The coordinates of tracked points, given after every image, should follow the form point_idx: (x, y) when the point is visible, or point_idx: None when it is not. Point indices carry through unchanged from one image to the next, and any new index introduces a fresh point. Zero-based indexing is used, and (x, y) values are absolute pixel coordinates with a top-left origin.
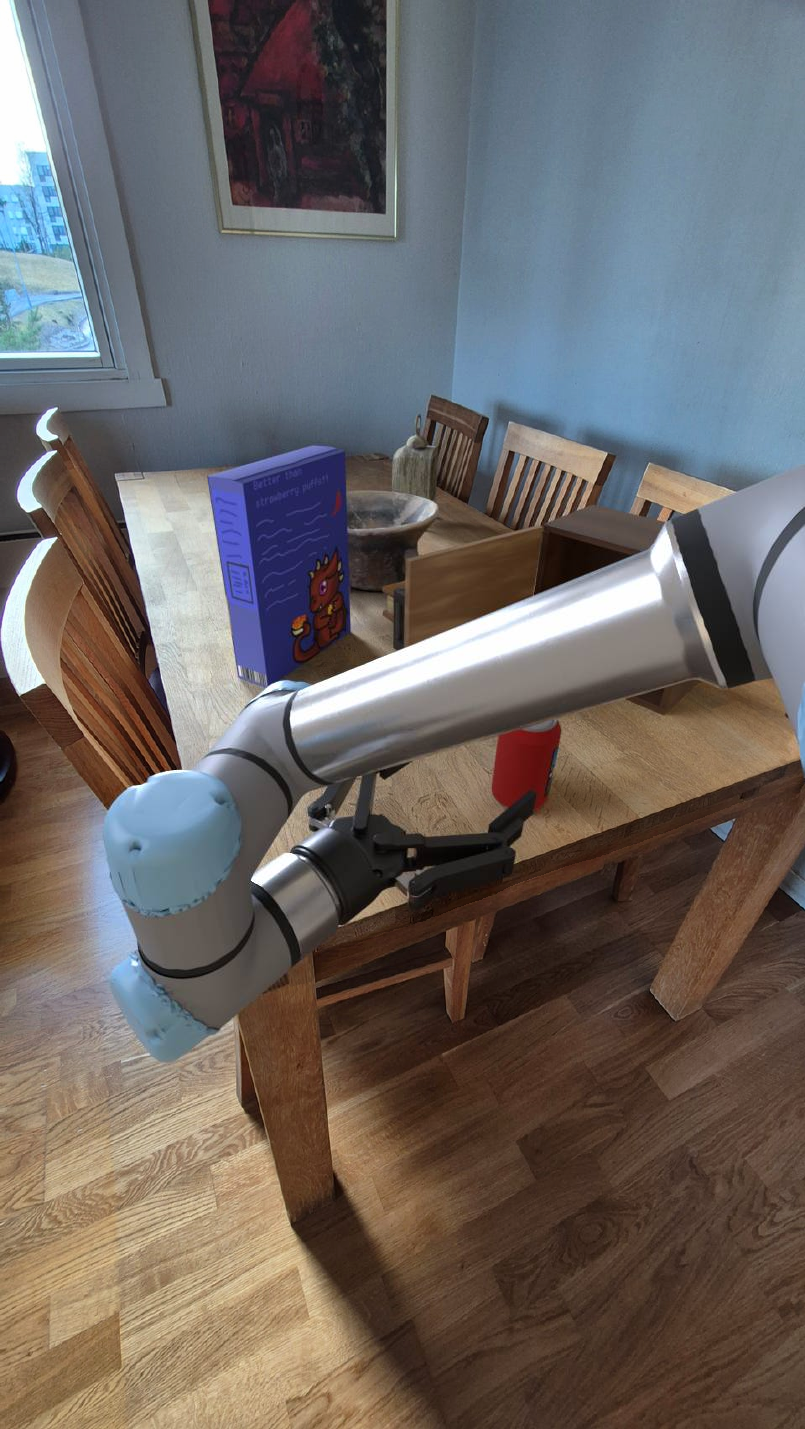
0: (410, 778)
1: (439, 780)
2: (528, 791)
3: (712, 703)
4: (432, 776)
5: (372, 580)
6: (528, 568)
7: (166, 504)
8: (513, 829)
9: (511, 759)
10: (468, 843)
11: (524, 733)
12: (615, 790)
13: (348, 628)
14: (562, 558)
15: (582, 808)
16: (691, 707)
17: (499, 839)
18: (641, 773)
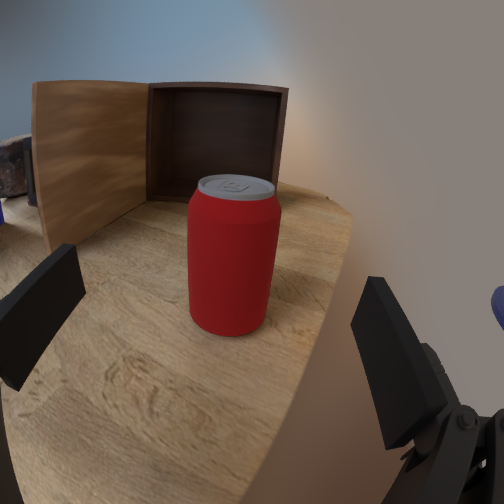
0: (81, 346)
1: (119, 335)
2: (372, 281)
3: (290, 199)
4: (107, 333)
5: (20, 186)
6: (140, 116)
7: None
8: (439, 374)
9: (230, 260)
10: (455, 500)
11: (246, 206)
12: (302, 271)
13: (1, 218)
14: (161, 116)
15: (295, 299)
16: (283, 203)
17: (476, 418)
18: (303, 250)
